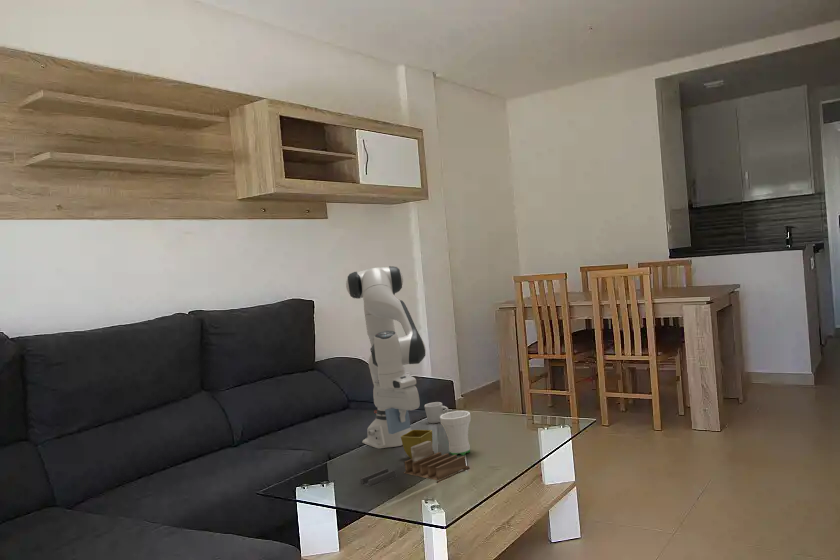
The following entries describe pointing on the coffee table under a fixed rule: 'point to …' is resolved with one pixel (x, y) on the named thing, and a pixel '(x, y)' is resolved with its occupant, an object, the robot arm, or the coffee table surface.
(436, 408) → the cup
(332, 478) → the coffee table surface
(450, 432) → the cup
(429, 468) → the rack
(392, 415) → the upright blue tile
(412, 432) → the flower pot
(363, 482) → the stand
